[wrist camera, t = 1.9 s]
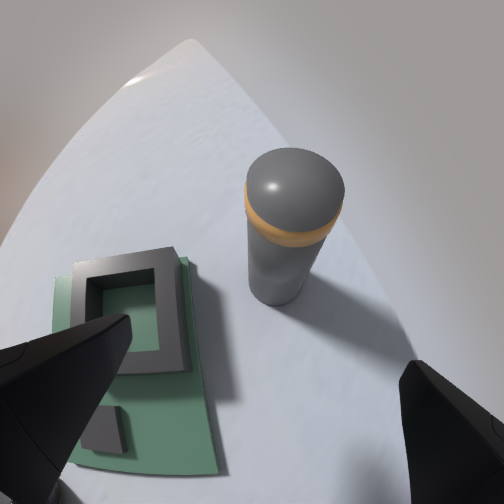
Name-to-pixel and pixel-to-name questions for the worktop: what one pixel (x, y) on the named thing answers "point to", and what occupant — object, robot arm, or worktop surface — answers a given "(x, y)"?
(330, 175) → the plug
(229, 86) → the worktop surface
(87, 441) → the header board
